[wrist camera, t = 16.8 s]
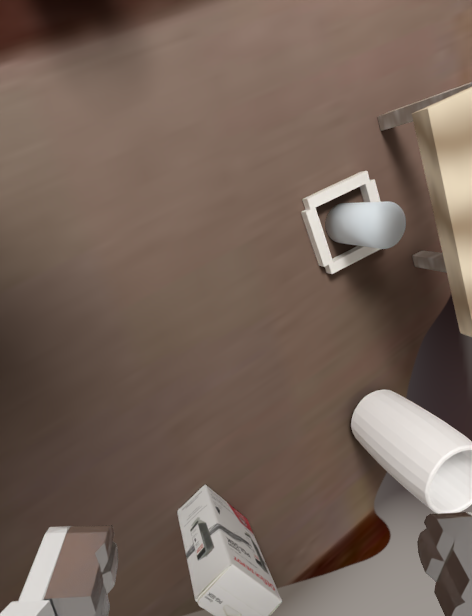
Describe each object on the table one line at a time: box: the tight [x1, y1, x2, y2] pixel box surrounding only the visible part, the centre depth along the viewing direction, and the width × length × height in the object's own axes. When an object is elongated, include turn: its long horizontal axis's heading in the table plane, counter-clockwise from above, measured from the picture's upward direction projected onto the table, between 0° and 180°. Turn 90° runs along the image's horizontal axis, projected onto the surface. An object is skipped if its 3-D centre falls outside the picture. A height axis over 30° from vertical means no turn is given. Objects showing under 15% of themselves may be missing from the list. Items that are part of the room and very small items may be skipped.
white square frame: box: [301, 171, 380, 274], centre depth 44 cm, size 9×9×1 cm
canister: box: [325, 202, 406, 249], centre depth 41 cm, size 4×4×8 cm
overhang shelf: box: [377, 82, 472, 337], centre depth 37 cm, size 18×10×16 cm, turn 23°
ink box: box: [177, 485, 282, 616], centre depth 43 cm, size 9×5×12 cm, turn 40°
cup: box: [351, 390, 472, 514], centre depth 45 cm, size 8×8×14 cm
